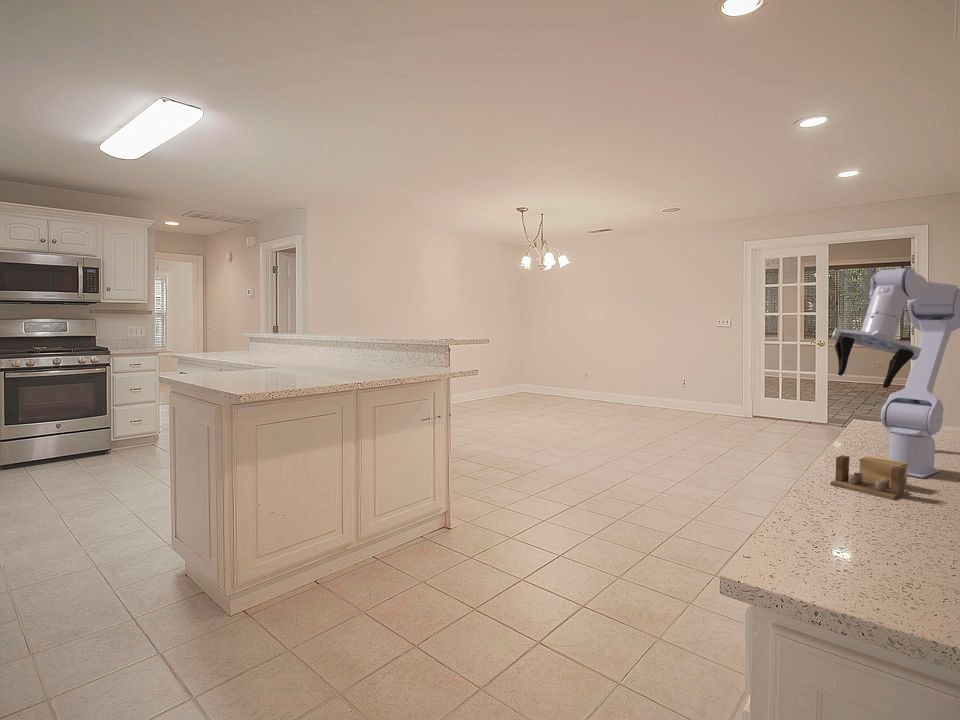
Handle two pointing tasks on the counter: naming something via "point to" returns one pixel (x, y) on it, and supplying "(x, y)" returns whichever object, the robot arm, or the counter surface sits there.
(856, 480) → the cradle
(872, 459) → the block
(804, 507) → the counter surface
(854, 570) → the counter surface
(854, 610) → the counter surface
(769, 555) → the counter surface
